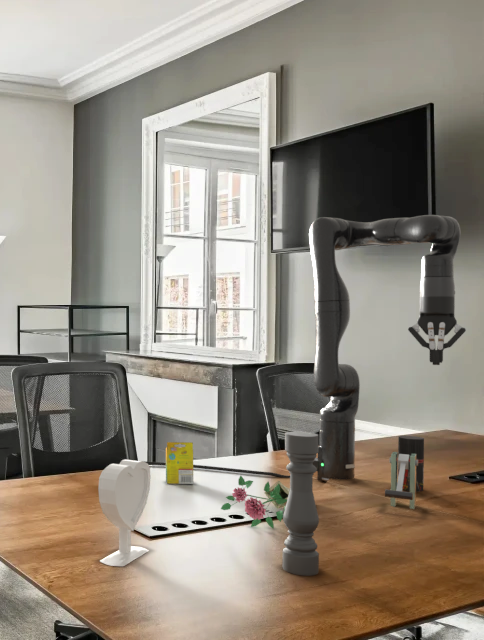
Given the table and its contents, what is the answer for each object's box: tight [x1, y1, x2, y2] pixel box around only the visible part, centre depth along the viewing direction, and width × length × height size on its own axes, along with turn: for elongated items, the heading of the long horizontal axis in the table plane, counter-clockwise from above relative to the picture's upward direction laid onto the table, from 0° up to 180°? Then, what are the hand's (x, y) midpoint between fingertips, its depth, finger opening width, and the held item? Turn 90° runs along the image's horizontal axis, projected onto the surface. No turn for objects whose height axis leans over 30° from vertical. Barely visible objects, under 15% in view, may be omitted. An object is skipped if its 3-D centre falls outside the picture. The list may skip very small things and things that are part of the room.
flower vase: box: [220, 475, 290, 530], centre depth 167 cm, size 12×12×35 cm
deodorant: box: [397, 435, 425, 493], centre depth 195 cm, size 6×6×15 cm
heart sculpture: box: [97, 458, 152, 567], centre depth 143 cm, size 16×5×18 cm, turn 144°
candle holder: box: [282, 431, 320, 577], centre depth 136 cm, size 6×6×25 cm
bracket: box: [388, 451, 418, 510], centre depth 178 cm, size 10×9×14 cm
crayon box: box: [165, 441, 195, 485], centre depth 206 cm, size 7×3×12 cm, turn 84°
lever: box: [384, 454, 413, 501], centre depth 173 cm, size 15×6×2 cm, turn 147°
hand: (436, 364), depth 184 cm, fingers closed
